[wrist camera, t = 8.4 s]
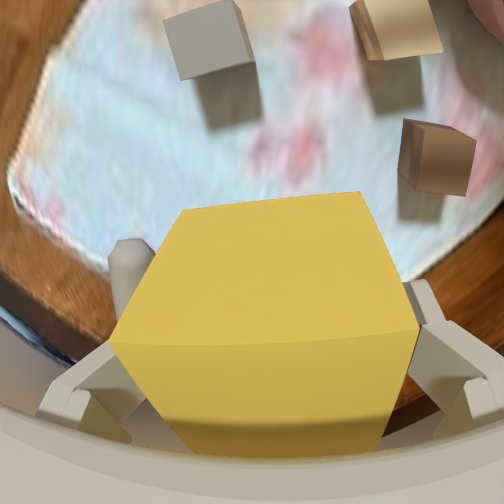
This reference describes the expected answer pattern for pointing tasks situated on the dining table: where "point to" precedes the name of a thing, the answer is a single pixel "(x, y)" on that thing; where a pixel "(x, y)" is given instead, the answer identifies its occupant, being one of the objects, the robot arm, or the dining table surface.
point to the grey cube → (209, 39)
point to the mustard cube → (271, 329)
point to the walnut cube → (435, 157)
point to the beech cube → (396, 28)
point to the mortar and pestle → (490, 16)
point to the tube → (127, 270)
